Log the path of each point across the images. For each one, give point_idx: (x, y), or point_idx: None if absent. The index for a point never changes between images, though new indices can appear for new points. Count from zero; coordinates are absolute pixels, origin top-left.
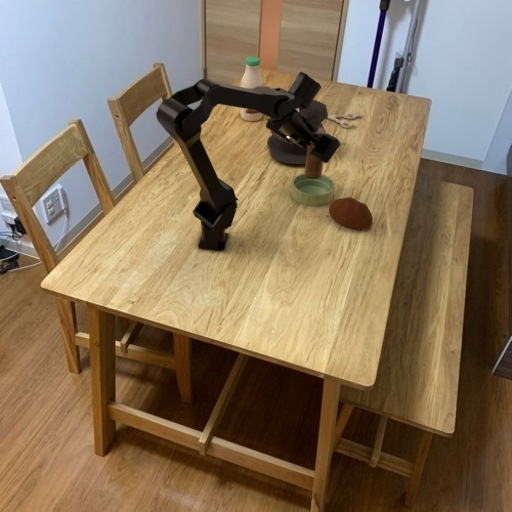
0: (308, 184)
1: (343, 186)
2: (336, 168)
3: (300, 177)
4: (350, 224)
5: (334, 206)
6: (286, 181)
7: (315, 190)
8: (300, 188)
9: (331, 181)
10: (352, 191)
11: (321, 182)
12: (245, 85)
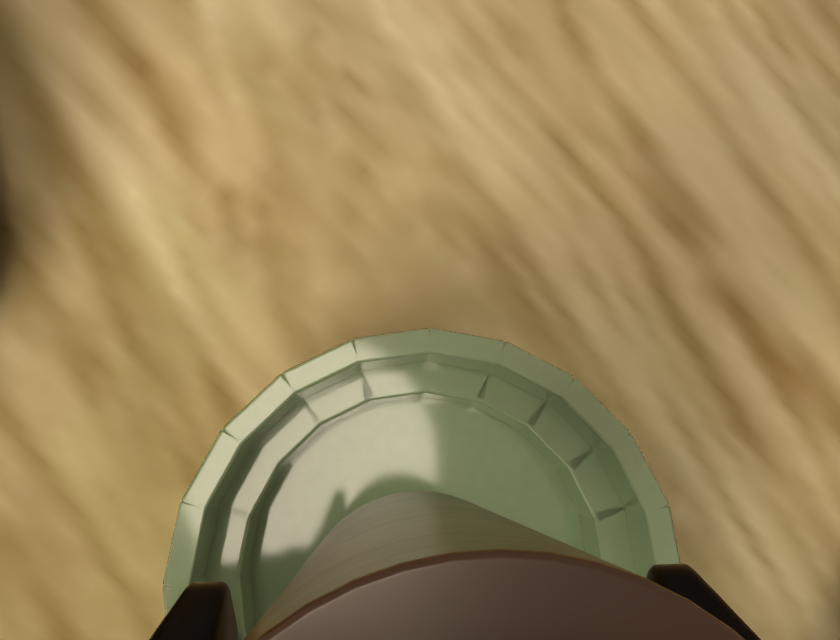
0: (276, 482)
1: (479, 188)
2: (207, 14)
3: (199, 575)
4: None
5: None
6: (54, 598)
7: (393, 487)
8: (271, 596)
9: (518, 369)
10: (589, 182)
11: (385, 397)
12: None
